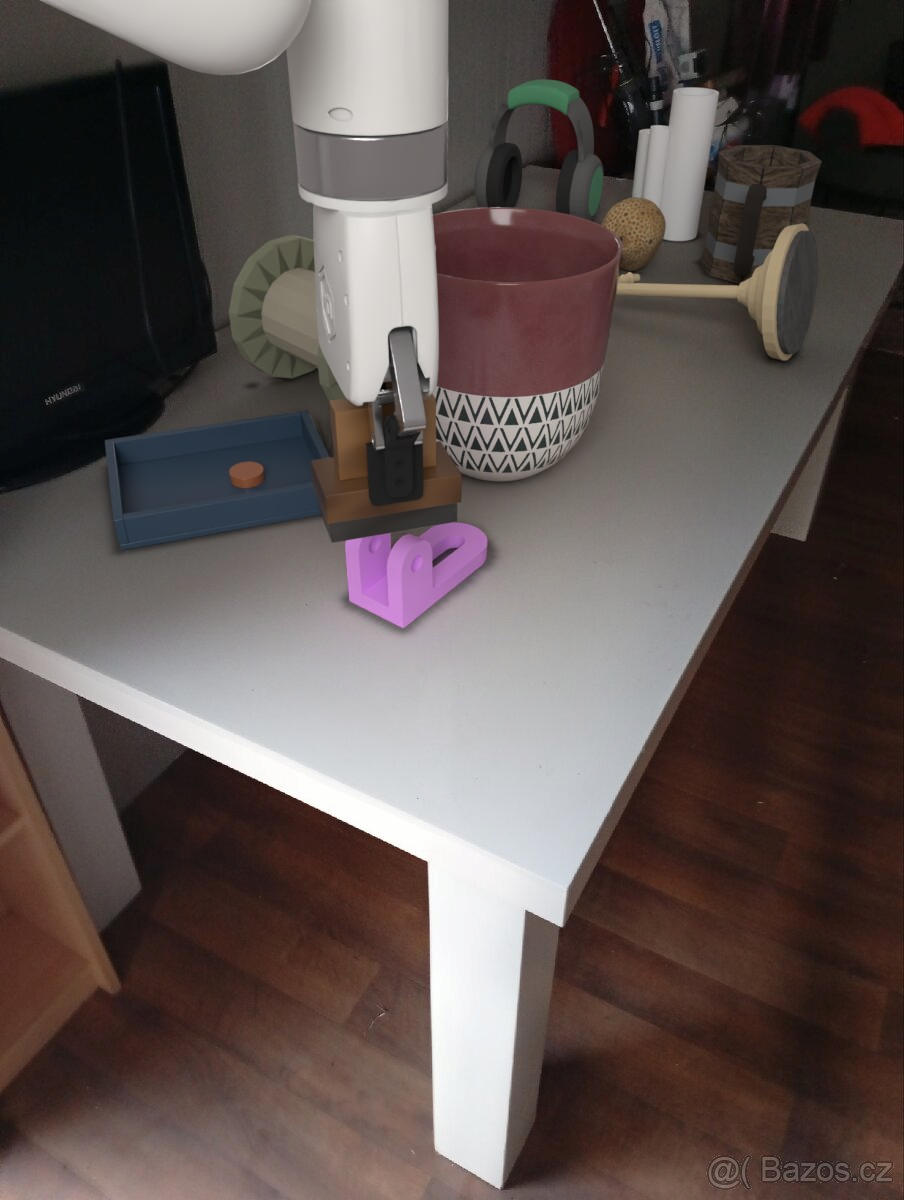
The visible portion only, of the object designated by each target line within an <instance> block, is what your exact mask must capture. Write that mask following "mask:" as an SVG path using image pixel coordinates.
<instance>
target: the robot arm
mask: <svg viewBox="0 0 904 1200" xmlns="http://www.w3.org/2000/svg"><path fill="white" fill-rule="evenodd" d="M39 1H40V2H42V3H44V4H47V5H49V6H51V7H53V8H55V9H57V10H59V11H62V12H63V13H66V14H68V15H70V16H72V17H73V18H74V17H75V18H77V20H78V19H79V20H81V21H83V22H84V23H87V24H90V25H91V26H93V27H95V28H98V29H100V30H102V31H104V32H107V33H109V34H110V35H112V36H115V37H117V38H119V39H121V40H123V41H126V42H127V43H129V44H132V45H134V46H137V47H138V48H140V49H143V50H145V51H147V52H149V53H151V54H153V55H155V56H157V57H160V58H162V59H164V60H166V61H169V62H171V63H173V64H175V65H177V66H180V67H183V68H185V69H188V70H191V71H194V72H198V73H202V74H209V75H216V76H231V75H242V74H245V73H248V72H253V71H255V70H259V69H260V68H262V67H264V66H266V65H268V64H270V63H271V62H273V61H275V60H276V59H277V58H279V56H281V55H282V54H283V53H284V52H286V60H287V61H286V62H287V73H288V85H289V96H290V107H291V119H292V129H293V141H294V151H295V164H296V175H297V189H298V195H299V196H300V199H302V200H303V201H304V202H306V203H308V204H312V212H313V213H312V231H313V232H312V233H313V234H312V236H313V239H312V240H314V265H315V288H316V312H317V333H318V340H319V344H320V348H321V350H322V353H323V355H324V357H325V359H326V361H327V363H328V365H329V367H330V369H331V371H332V373H333V375H334V377H335V379H336V381H337V383H338V385H339V387H340V388H341V390H342V392H343V394H344V395H345V397H346V398H347V399H348V400H349V401H350V402H351V403H353V404H354V405H356V406H362V405H363V402H368V410H369V420H370V430H371V439H372V442H369V443H366V452H367V471H368V489H369V499H370V501H371V503H372V505H374V506H382V505H388V504H395V503H401V502H407V501H413V500H418V499H420V498H421V497H422V496H423V429H425V428H426V416H425V410H424V404H423V398H422V394H423V395H424V396H426V397H428V396H430V395H431V394H432V393H433V392H434V390H435V389H436V387H437V381H438V368H439V315H438V289H437V268H436V245H435V237H434V223H433V215H434V211H433V204H436V203H437V202H440V201H442V200H443V199H444V198H445V197H446V196H447V195H448V192H449V181H448V179H449V120H448V118H449V23H450V22H449V14H450V13H449V9H450V8H449V6H450V4H449V3H450V2H449V0H39ZM389 404H395V412H394V415H389V416H387V417H386V419H385V421H384V424H383V416H382V406H381V405H389Z"/></svg>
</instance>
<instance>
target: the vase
mask: <svg viewBox="0 0 904 1200" xmlns="http://www.w3.org/2000/svg"><path fill="white" fill-rule="evenodd" d="M719 96H720V92H719V91H718V90H716V89H712V88H706V87H694V86H693V87H692V86H691V87H678V88H675V89H674V90H673V92H672V98H671V104H670V105H671V106H670V112H669V113H670V114H669V121H668V125H661V124H654V125H650V128H643V129H640V130H638V138H637V139H638V140H637V148H636V156H635V166H634V174H633V182H632V190H631V198H633V197H638V198H644V199H648V200H650V201H652V202H653V203H655V204H656V205H657V206H658V208H659V209H660V210H661V212H662V214H663V215H664V218H665V222H666V228H665V234H664V238H663V240H665V241H671V242H687V241H691V240H695V239H696V238H697V235H698V230H699V229H698V228H699V224H700V223H699V222H700V217H701V210H702V204H703V198H704V191H705V185H706V178H707V174H708V173H707V172H708V167H709V159H710V155H711V154H710V153H711V147H712V142H713V141H712V140H713V136H714V135H713V134H714V128H715V122H716V115H717V108H718V103H719Z"/></svg>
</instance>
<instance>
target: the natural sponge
mask: <svg viewBox="0 0 904 1200" xmlns="http://www.w3.org/2000/svg"><path fill="white" fill-rule="evenodd" d="M600 225H601V226H603V227H605V228H607V229H609V230H610V231H612V232H613V233H614V234H615V235H616V236H617V237H618V238H619V239H620V241H621V243H622V247H623V251H622V259H621V266H620V269H621V268H622V269H623V270H624V271H627V272H635V271H639V270H640V269H642V268H643V267H645V266H646V265H647V264H648V263H649V262H650V261H651V260H652V259H653V258H654V257H655V255H656V254H657V253H658V250H659V248H660V247H661V244H662V242H663V240H664V239H663V238H664V234H665V228H666V222H665V218H664V215H663V214H662V212H661V210H660V209H659V208H658V206H657V205H656V204H655V203H653V202H652V201H650V200H648V199H644V198H638V197H633V198H632V197H628V198H625V199H623V200H620V201H619V202H617V203H616V204H614V205H613V206H611V207H610V209H609V210H608V211H607V212H606V214H605V216H604V218H603V220H602V222H601V224H600Z"/></svg>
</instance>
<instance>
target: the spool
mask: <svg viewBox="0 0 904 1200" xmlns="http://www.w3.org/2000/svg"><path fill="white" fill-rule="evenodd" d="M230 297H231V298H230V302H229V306H228V307H229V308H228V318H229V325H230V330H231V337H232V338H231V339H232V340H233V343H234V344H235V345H236V347H237V349H238V351H239V352H240V354H241V356H242V358H243V359H244V361H246V362H247V363H249V364H250V365H252V366H253V367H255V368H256V369H257V370H258V371H260V372H262V373H264V374H265V375H267V376H269V377H274V378H283V379H284V378H285V379H295V378H297V377H300V376H302V375H305V374H308V373H310V372H313V371H314V370H315V369H317V370H318V379H319V385H320V387H321V389H322V391H323V392H324V394H325V396H326V398H327V400H328V402H329V401H331V400H338V399H346V397H345V395H344V394H343V392H342V390H341V388H340V387H339V385H338V383H337V381H336V379H335V377H334V375H333V373H332V371H331V369H330V367H329V365H328V363H327V361H326V359H325V357H324V355H323V353H322V350H321V348H320V344H319V340H318V333H317V312H316V288H315V265H314V240H313V239H312V238H308V237H304V236H299V235H295V234H289V235H285V236H282V237H281V236H280V237H278V238H274V239H270V240H268V241H266V243H264V244H263V245H262V246H261V247H260V248H258V249H257V250H256V251H255V252H254V253H252V254H251V255H250V256H248V258H247V260H246V261H245V263H244V265H243V267H242V268H241V270H240V272H239V274H238V276H237V277H236V279H235V281H234V282H233V287H232V291H231V296H230Z"/></svg>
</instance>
